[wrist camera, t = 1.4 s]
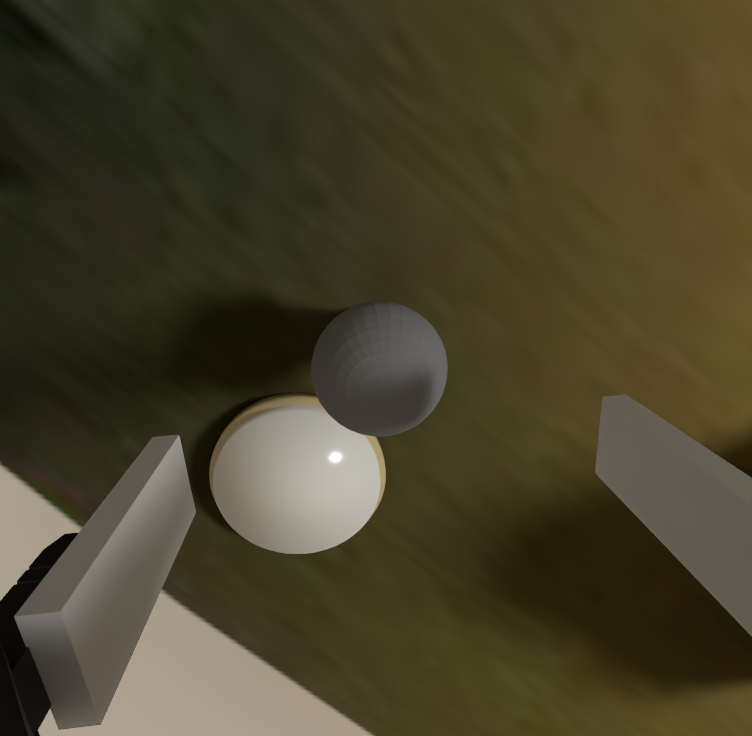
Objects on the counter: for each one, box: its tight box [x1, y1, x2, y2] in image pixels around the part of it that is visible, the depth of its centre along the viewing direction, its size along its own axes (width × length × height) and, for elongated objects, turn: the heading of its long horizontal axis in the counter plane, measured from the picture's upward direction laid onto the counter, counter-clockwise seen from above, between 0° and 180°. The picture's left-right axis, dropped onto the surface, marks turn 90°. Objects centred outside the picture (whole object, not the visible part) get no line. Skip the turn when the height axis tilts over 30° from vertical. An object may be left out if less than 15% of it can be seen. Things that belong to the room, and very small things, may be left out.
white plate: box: [209, 392, 386, 554], centre depth 30 cm, size 11×11×2 cm
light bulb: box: [311, 301, 448, 436], centre depth 23 cm, size 6×6×10 cm
